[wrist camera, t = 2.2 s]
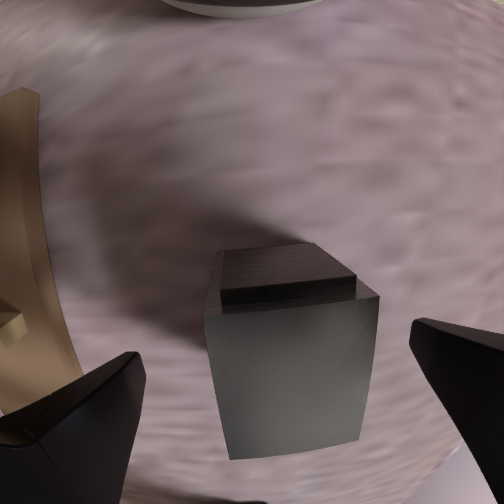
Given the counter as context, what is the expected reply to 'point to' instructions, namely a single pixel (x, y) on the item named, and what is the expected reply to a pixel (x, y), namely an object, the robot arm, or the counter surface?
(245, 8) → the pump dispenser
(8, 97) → the rail
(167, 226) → the counter surface
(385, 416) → the counter surface
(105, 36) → the counter surface
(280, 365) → the block
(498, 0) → the reusable coffee cup
